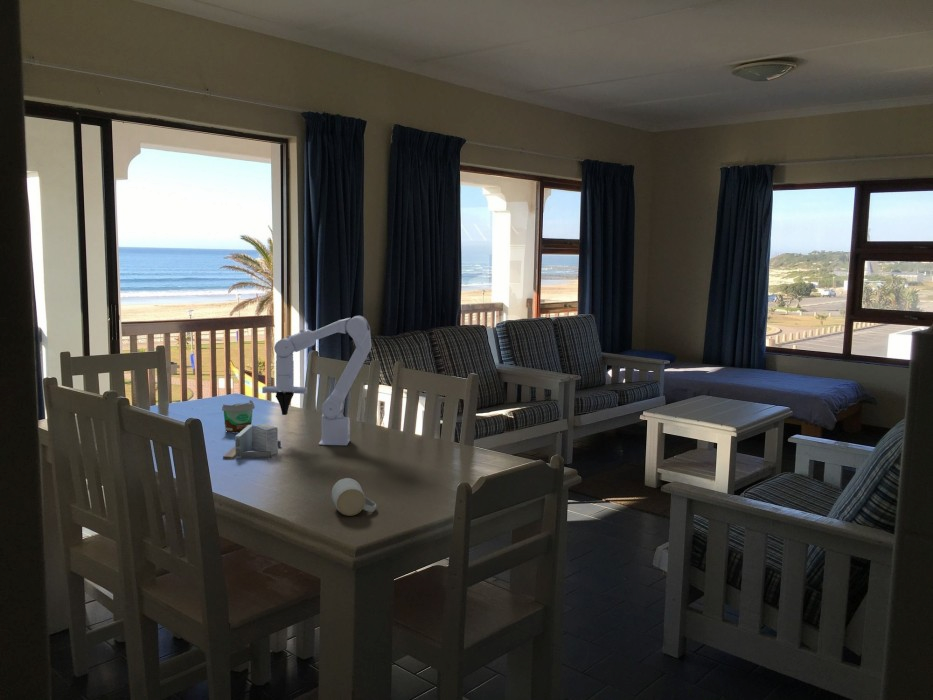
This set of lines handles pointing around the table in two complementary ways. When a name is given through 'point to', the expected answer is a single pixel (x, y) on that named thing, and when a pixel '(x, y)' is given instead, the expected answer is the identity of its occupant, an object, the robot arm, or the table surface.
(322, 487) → the table surface
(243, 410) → the food container
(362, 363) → the robot arm
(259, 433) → the medicine box
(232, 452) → the threshold strip
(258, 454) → the keeper cleats
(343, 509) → the ceramic mug
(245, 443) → the door panel
